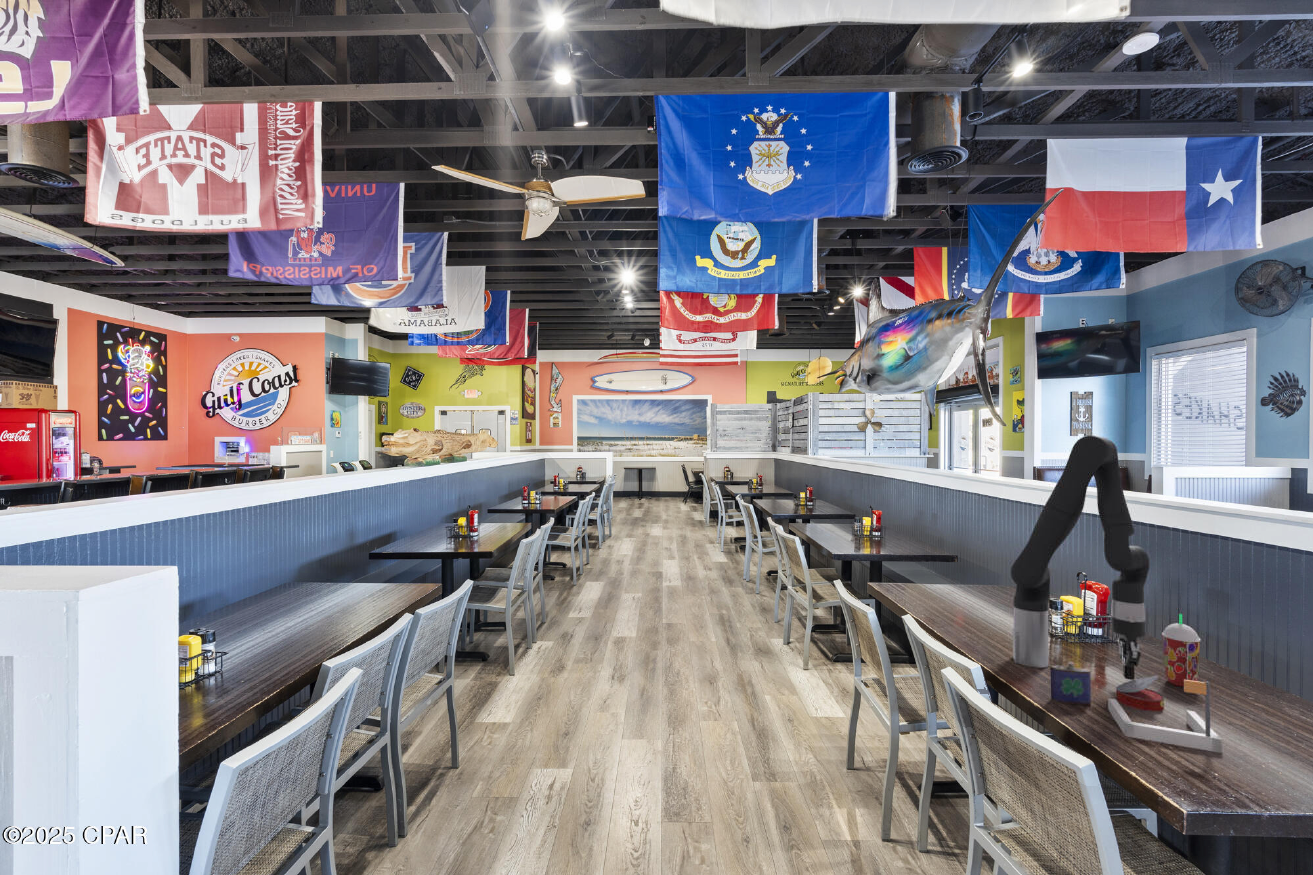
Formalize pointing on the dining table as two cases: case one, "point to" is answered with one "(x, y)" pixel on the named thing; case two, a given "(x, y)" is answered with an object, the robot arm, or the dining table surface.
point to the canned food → (1140, 695)
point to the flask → (1070, 685)
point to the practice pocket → (1197, 739)
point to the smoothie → (1181, 653)
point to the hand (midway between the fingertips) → (1128, 678)
